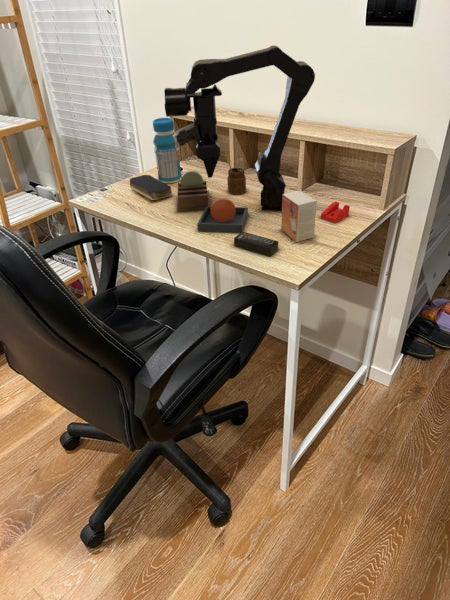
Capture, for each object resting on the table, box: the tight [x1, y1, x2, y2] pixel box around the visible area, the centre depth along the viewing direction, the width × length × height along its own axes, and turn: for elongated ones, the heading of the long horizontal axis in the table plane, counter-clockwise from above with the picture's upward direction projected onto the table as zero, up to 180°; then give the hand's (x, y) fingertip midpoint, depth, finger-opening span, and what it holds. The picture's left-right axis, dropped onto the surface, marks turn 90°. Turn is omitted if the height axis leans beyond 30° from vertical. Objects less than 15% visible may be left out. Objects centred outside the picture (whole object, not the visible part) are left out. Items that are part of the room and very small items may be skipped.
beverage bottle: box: [152, 117, 183, 184], centre depth 153 cm, size 8×8×20 cm
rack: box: [176, 180, 211, 214], centre depth 140 cm, size 10×12×5 cm
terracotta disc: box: [210, 197, 236, 223], centre depth 126 cm, size 7×1×7 cm, turn 94°
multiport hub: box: [233, 231, 279, 258], centre depth 116 cm, size 4×11×2 cm, turn 54°
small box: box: [280, 190, 318, 243], centre depth 118 cm, size 8×6×10 cm
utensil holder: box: [224, 152, 247, 195], centre depth 143 cm, size 6×6×12 cm
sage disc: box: [180, 170, 204, 186], centre depth 141 cm, size 7×1×7 cm, turn 94°
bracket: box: [320, 200, 351, 224], centre depth 127 cm, size 6×5×3 cm
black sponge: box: [129, 174, 173, 201], centre depth 148 cm, size 16×8×4 cm, turn 38°
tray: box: [197, 205, 249, 234], centre depth 128 cm, size 12×11×2 cm
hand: (209, 171), depth 129 cm, fingers open, 9 cm apart
